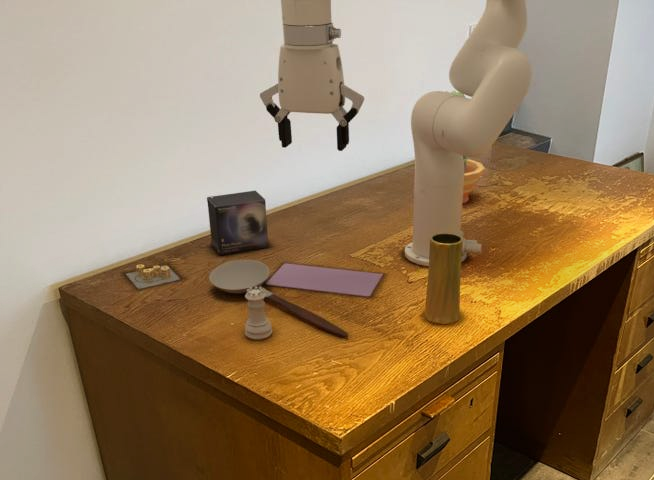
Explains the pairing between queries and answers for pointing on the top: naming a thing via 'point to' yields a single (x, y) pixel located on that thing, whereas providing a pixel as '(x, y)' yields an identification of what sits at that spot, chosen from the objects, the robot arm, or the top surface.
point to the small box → (238, 222)
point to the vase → (444, 278)
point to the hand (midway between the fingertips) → (314, 147)
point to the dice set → (152, 276)
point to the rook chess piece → (257, 315)
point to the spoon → (254, 274)
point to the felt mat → (325, 279)
